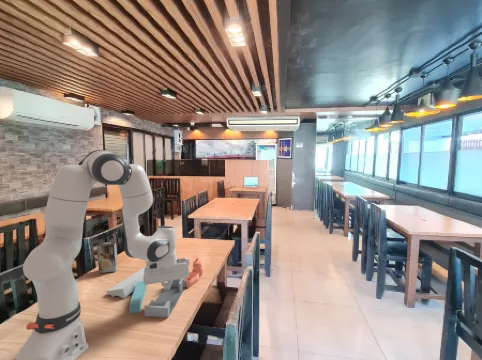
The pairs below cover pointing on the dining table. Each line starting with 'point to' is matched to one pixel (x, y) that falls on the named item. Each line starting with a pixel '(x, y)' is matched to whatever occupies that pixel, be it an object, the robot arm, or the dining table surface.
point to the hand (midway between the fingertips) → (166, 289)
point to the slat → (137, 298)
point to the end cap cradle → (165, 300)
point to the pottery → (194, 273)
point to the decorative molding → (127, 285)
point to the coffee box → (107, 257)
